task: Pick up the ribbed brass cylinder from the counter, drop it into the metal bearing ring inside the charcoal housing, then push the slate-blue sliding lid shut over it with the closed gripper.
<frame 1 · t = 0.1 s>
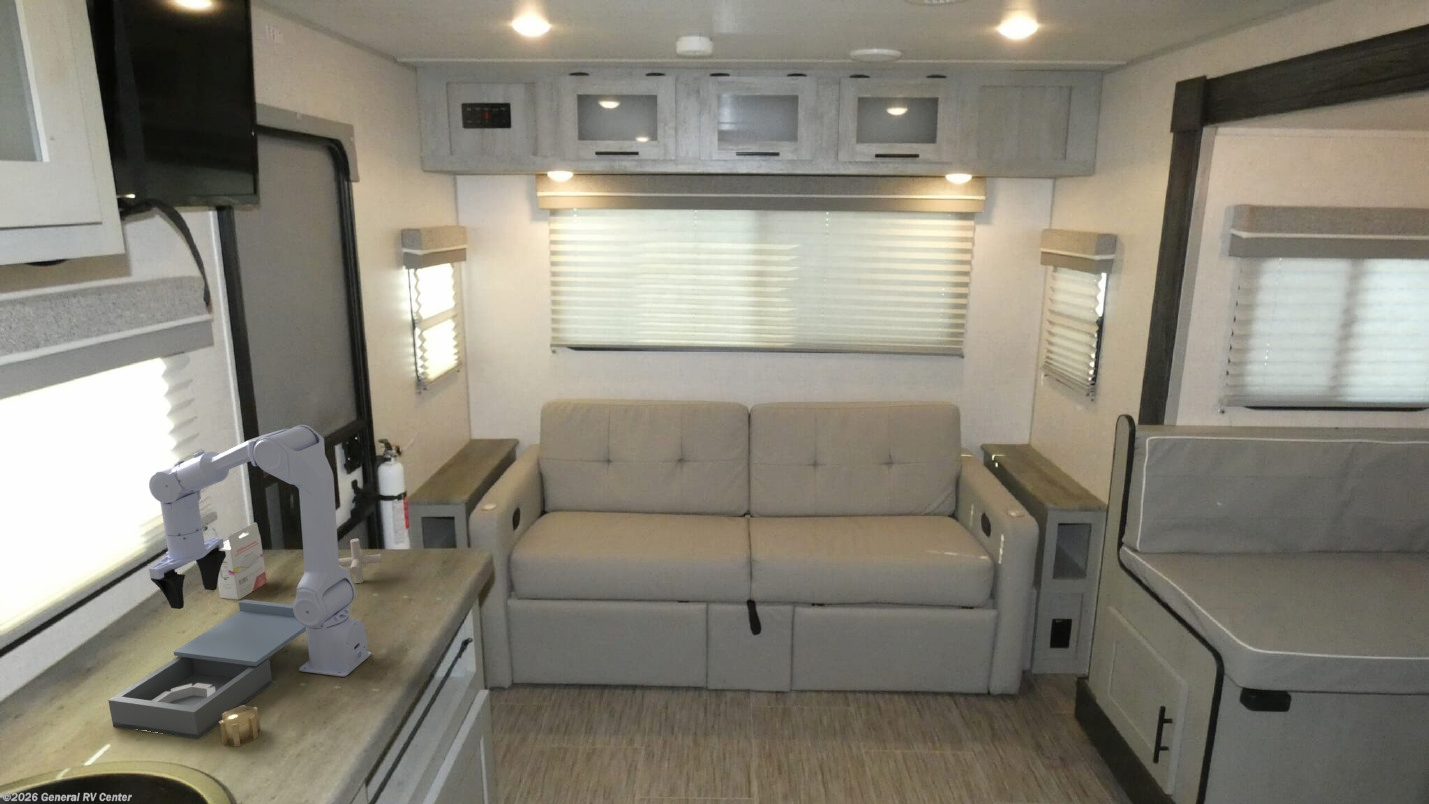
hand: (194, 598, 151), 10 cm above the counter, tool pointing down, fingers open, 7 cm apart
housing: (196, 703, 136), on the counter
pipe connector: (359, 582, 181), on the counter
ink cartridge box: (243, 591, 177), on the counter
ribbed brass cylinder: (241, 736, 127), on the counter
lid: (249, 630, 147), point 6 cm above the counter, slide at 13.0 cm
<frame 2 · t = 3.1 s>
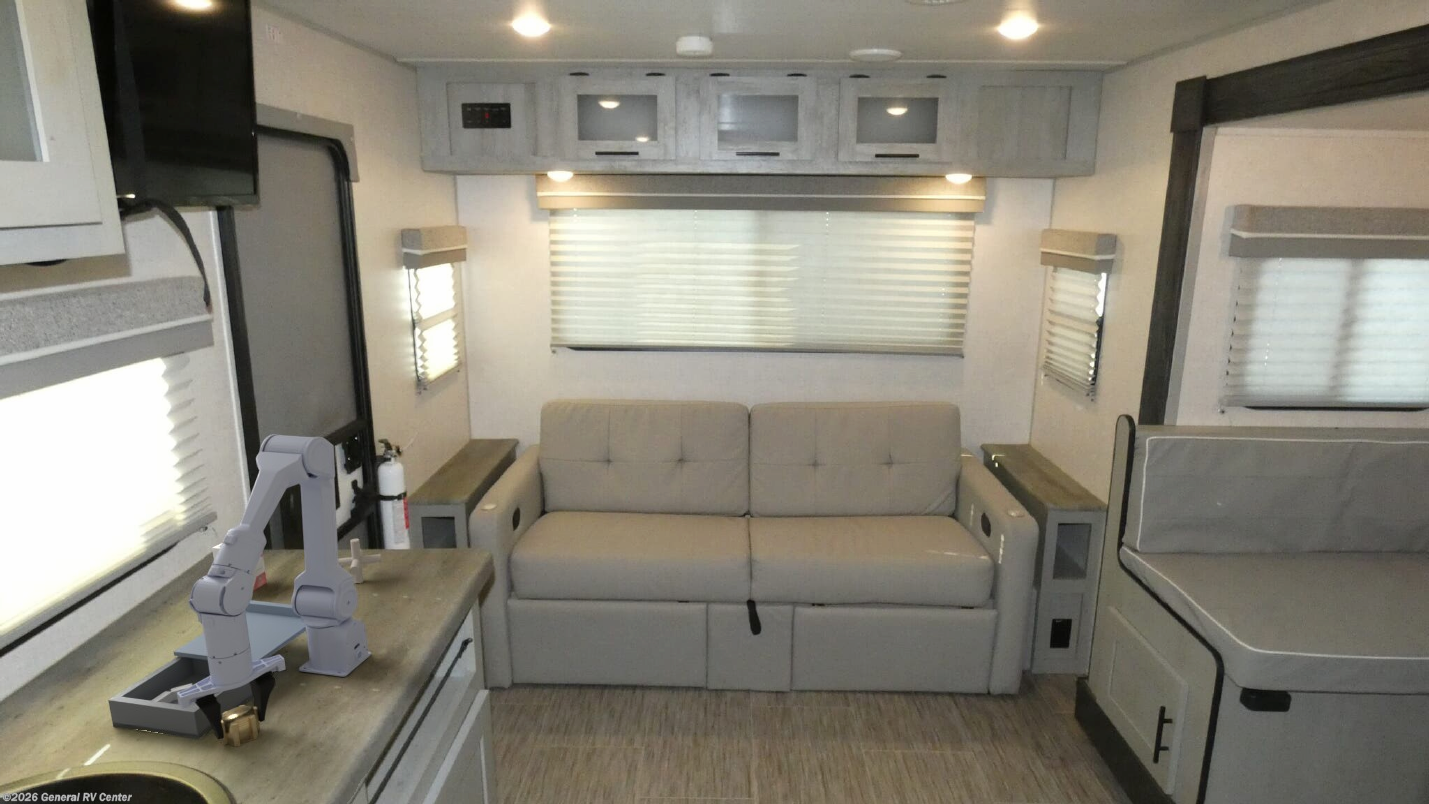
hand: (240, 727, 127), 2 cm above the counter, tool pointing down, fingers closed on ribbed brass cylinder, 5 cm apart
ribbed brass cylinder: (241, 736, 127), on the counter, touching gripper
everything else where it was.
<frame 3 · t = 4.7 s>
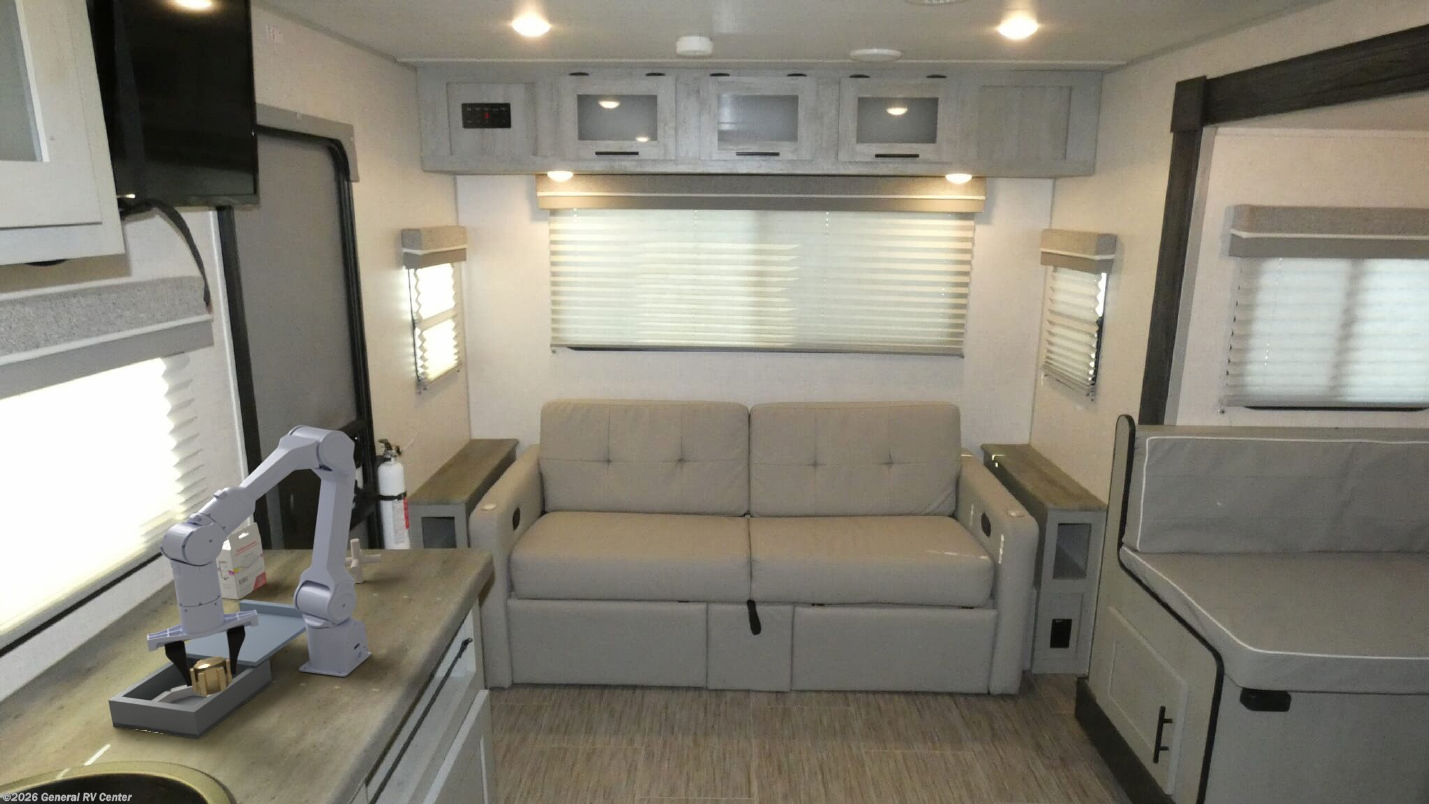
hand: (211, 677, 127), 9 cm above the counter, tool pointing down, fingers closed on ribbed brass cylinder, 5 cm apart
ribbed brass cylinder: (213, 687, 128), point 7 cm above the counter, touching gripper
everything else where it was.
when the fingers open (4 cm above the counter, at t = 6.7 s): ribbed brass cylinder drops 2 cm, resting on housing.
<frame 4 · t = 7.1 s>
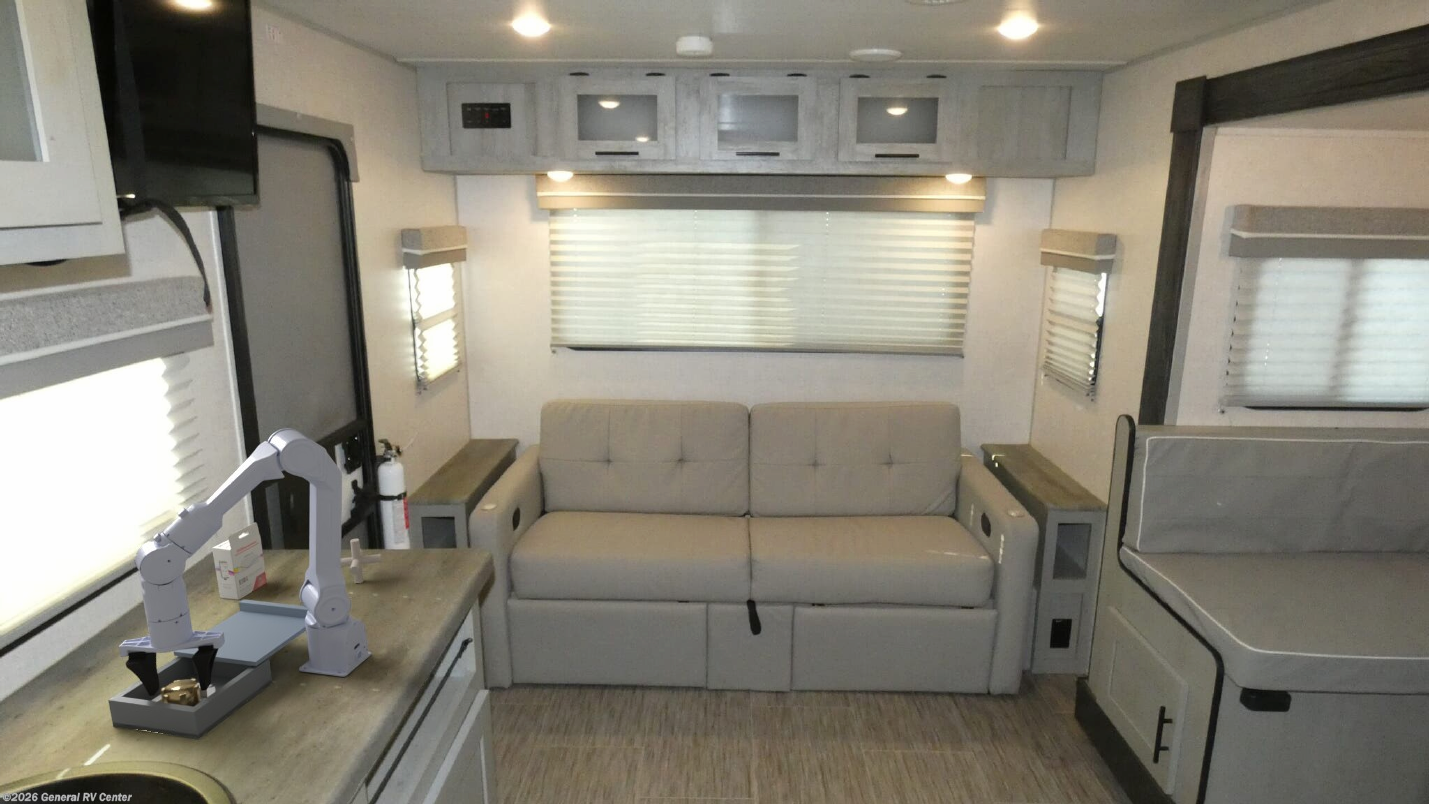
hand: (180, 689, 132), 4 cm above the counter, tool pointing down, fingers open, 7 cm apart
ribbed brass cylinder: (182, 708, 133), point 1 cm above the counter, touching housing
everything else where it was.
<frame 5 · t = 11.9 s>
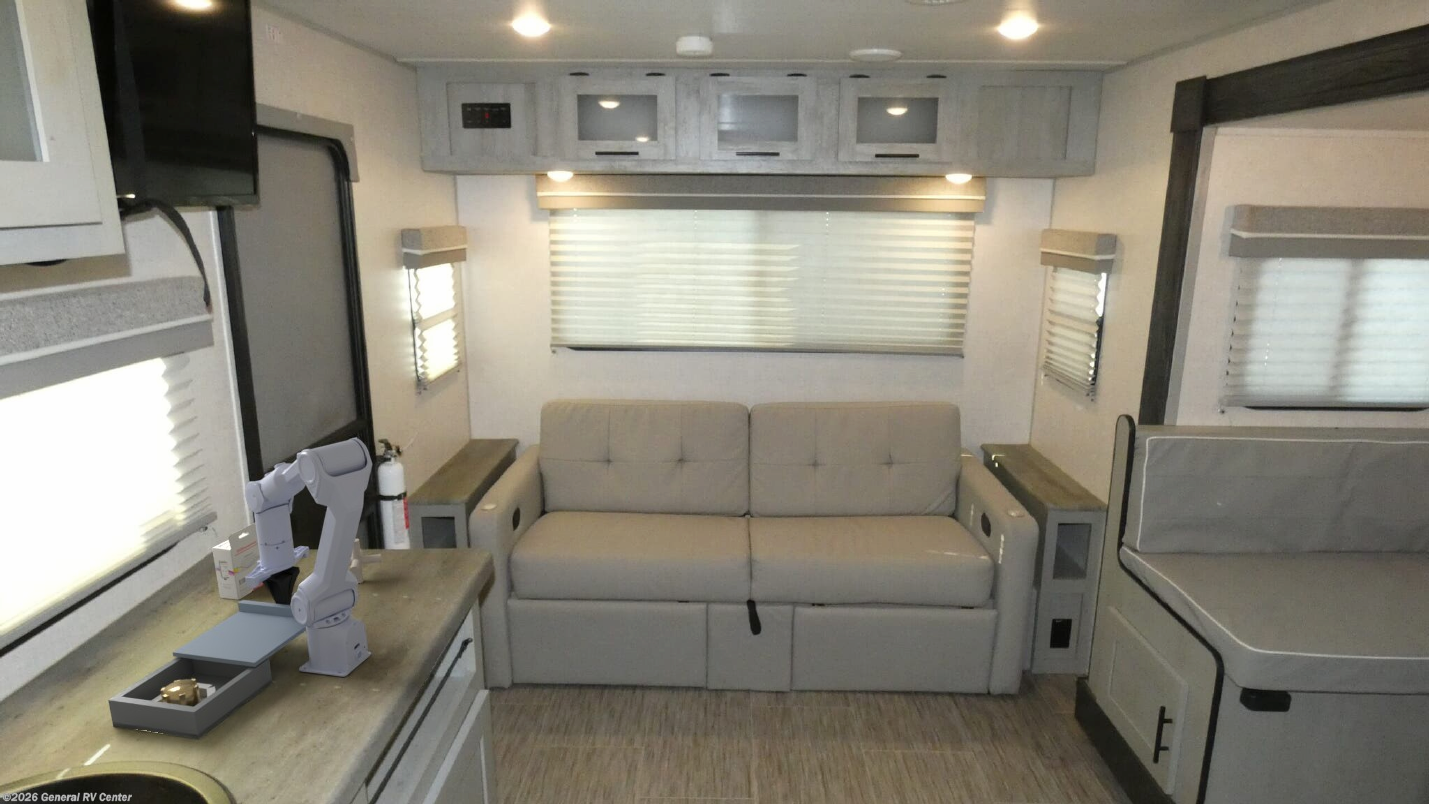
hand: (283, 605, 155), 7 cm above the counter, tool pointing down, fingers closed
lid: (248, 631, 146), point 6 cm above the counter, slide at 12.8 cm, touching gripper
everything else where it was.
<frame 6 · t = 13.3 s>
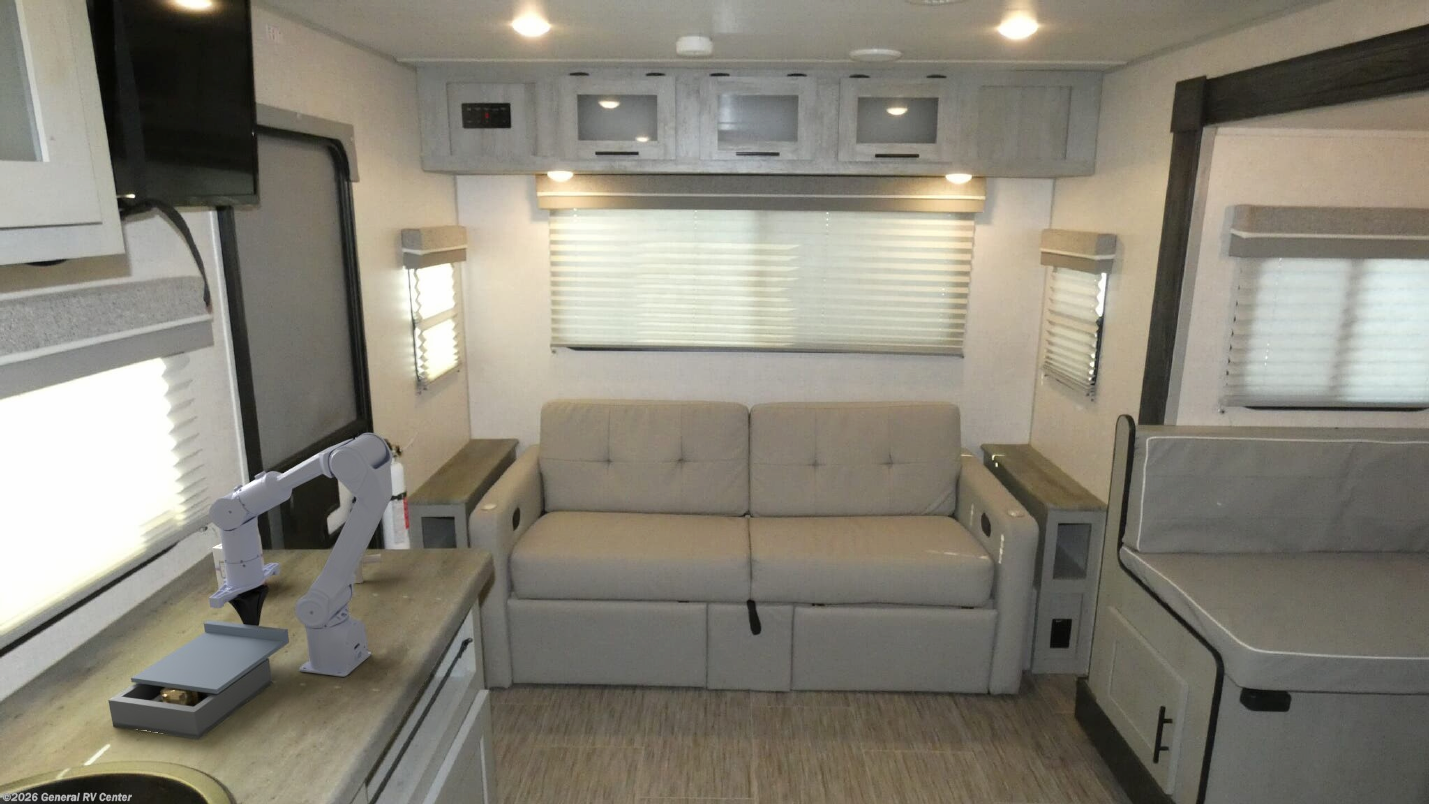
hand: (251, 626, 147), 7 cm above the counter, tool pointing down, fingers closed
lid: (212, 654, 139), point 6 cm above the counter, slide at 4.6 cm, touching gripper
everything else where it was.
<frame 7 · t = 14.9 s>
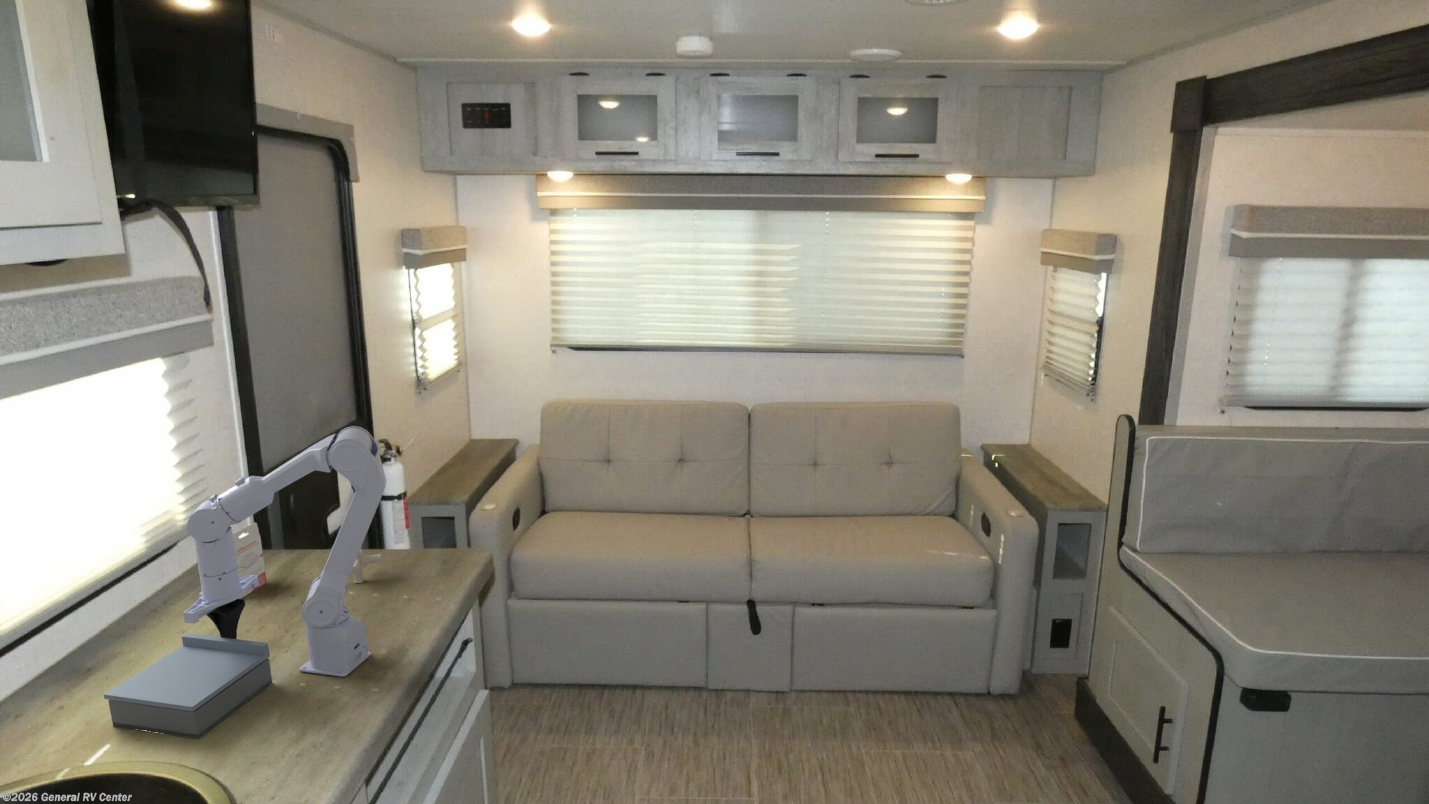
hand: (229, 641, 142), 7 cm above the counter, tool pointing down, fingers closed, pressing on lid
lid: (189, 669, 134), point 6 cm above the counter, slide at -0.2 cm, touching gripper
everything else where it was.
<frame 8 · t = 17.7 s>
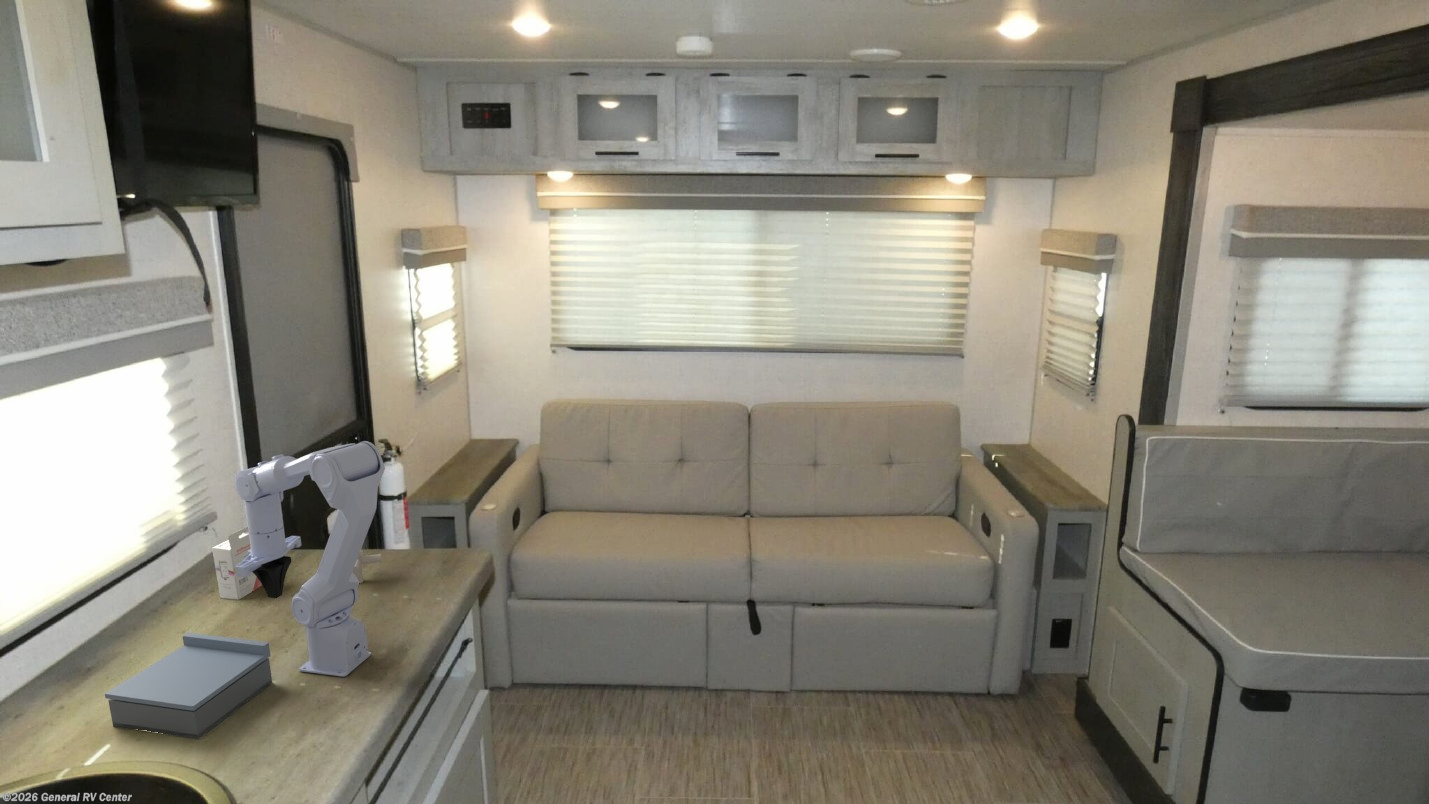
hand: (274, 596, 152), 10 cm above the counter, tool pointing down, fingers closed
lid: (190, 669, 134), point 6 cm above the counter, slide at 0.0 cm
everything else where it was.
at the end: ribbed brass cylinder 0.1 cm from the target spot on the housing, point 0.8 cm above the housing's base; ribbed brass cylinder tilted 0°; lid slide at 0.0 cm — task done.
